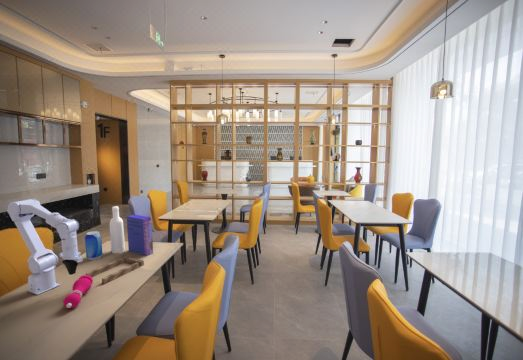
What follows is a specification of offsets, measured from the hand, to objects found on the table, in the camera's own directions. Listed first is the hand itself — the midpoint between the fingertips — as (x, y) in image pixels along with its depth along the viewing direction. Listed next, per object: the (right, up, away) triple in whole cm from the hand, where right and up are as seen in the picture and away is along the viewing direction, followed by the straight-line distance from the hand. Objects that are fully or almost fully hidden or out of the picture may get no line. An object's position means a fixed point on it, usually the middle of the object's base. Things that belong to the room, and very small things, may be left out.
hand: (72, 273), depth 119 cm
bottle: (-6, -3, +48) cm, 49 cm away
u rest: (+9, -6, +20) cm, 23 cm away
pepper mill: (+4, -4, +3) cm, 7 cm away
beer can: (-15, -4, +38) cm, 41 cm away
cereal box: (+10, -3, +47) cm, 48 cm away
